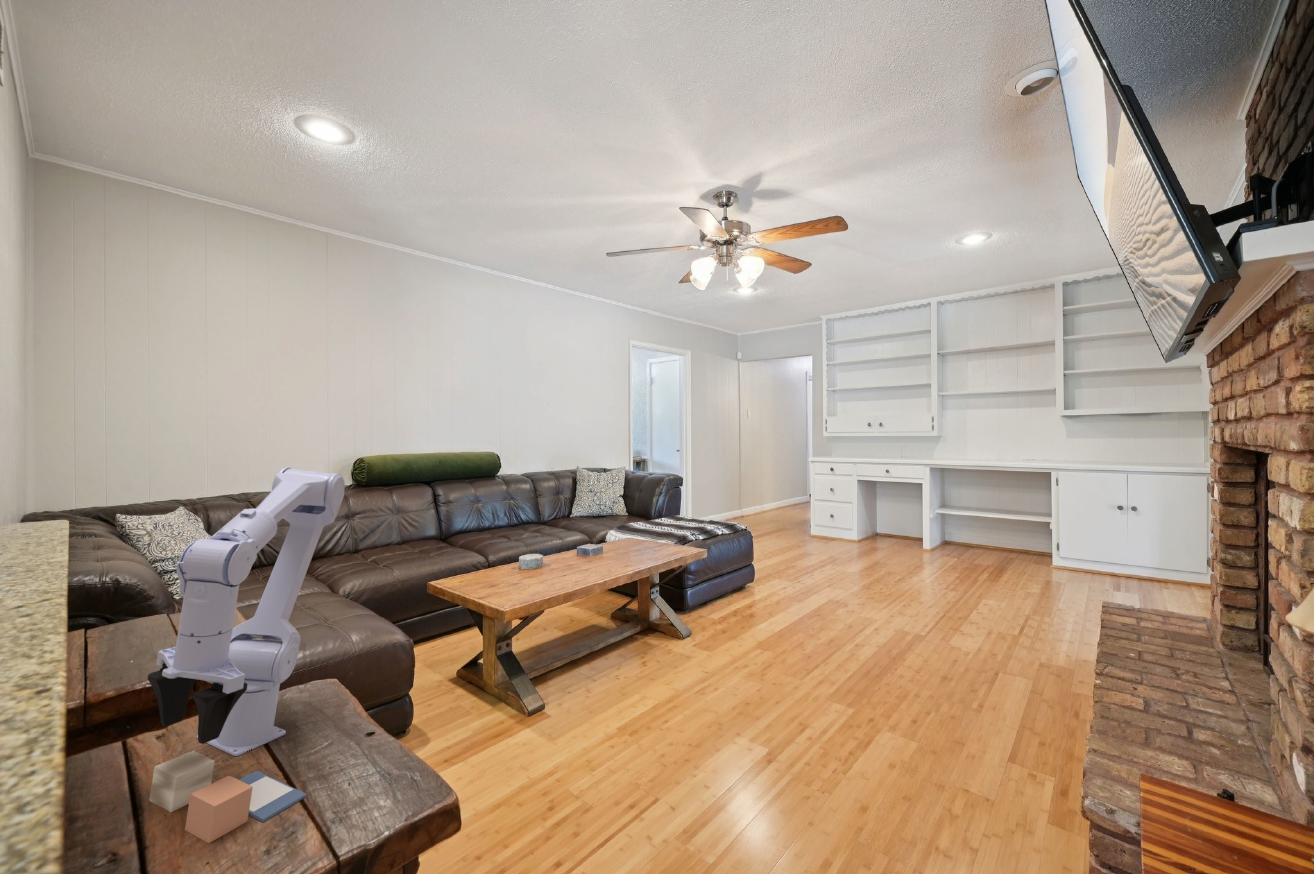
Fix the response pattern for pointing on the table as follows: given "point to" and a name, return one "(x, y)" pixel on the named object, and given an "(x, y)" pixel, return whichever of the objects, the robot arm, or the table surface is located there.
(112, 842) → the table surface
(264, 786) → the blue flat board
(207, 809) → the terracotta block
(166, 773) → the cream block
